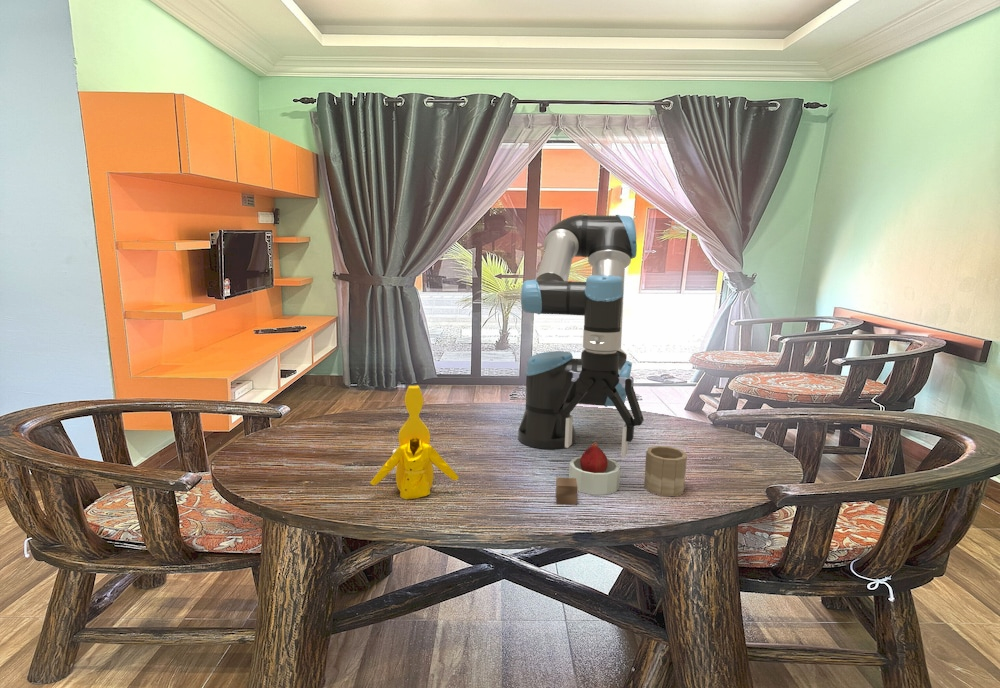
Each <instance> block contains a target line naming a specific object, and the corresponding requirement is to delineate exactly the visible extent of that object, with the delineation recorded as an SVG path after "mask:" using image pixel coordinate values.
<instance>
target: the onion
mask: <svg viewBox="0 0 1000 688" xmlns="http://www.w3.org/2000/svg"><path fill="white" fill-rule="evenodd" d="M598 446H599V444H598V442H593V443H592V444H591V445H590V446H589V447H588V448H586V449H585V450H584V451H583V452H582V454H581V455H580V456H581V460H580V465H581V468H582V470H583V471H586V472H592V473H604V472H605V471H606V469H607V466H608V461H607V458H608V457H607V456H606V454H605V452H604V451H603V450H602V449H600V447H598Z"/></svg>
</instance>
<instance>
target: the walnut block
mask: <svg viewBox="0 0 1000 688" xmlns="http://www.w3.org/2000/svg"><path fill="white" fill-rule="evenodd" d="M555 478H556V482H555V502H556V505H566V506H567V505H568V506H569V505H570V506H577V505H578V491H577V490H578V486H577V480H576V478H569V477H559V476H558V477H557V476H556V477H555Z"/></svg>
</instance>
